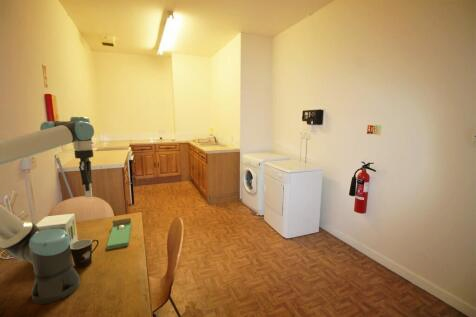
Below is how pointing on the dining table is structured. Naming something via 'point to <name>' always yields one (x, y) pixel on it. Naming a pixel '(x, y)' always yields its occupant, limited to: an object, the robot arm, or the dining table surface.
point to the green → (119, 234)
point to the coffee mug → (82, 252)
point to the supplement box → (60, 225)
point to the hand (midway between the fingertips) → (88, 196)
